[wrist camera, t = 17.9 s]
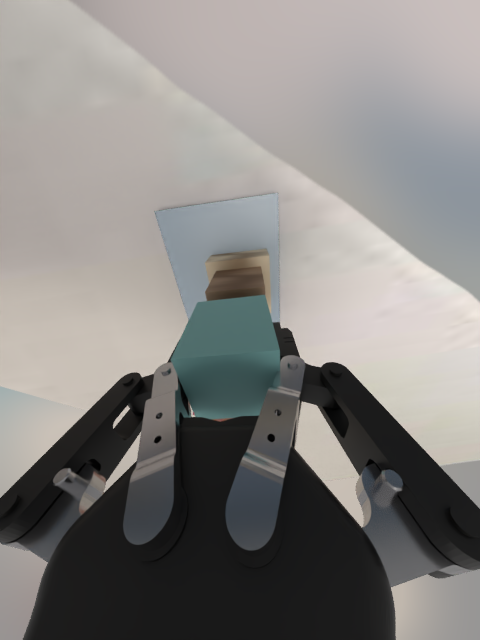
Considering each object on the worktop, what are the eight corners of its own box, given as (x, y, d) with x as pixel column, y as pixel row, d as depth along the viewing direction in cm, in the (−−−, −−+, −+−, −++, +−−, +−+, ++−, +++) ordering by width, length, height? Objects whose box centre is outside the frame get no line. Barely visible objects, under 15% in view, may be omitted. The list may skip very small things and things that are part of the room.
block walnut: (223, 310, 23) (215, 339, 18) (216, 271, 20) (204, 292, 15) (263, 306, 22) (267, 336, 17) (261, 266, 20) (265, 286, 15)
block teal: (211, 352, 16) (197, 420, 11) (197, 302, 14) (170, 359, 8) (268, 347, 16) (280, 414, 11) (265, 294, 13) (279, 350, 8)
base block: (220, 304, 27) (216, 317, 24) (210, 255, 23) (204, 262, 20) (268, 299, 26) (271, 312, 23) (266, 248, 22) (269, 255, 19)
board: (195, 332, 31) (194, 336, 30) (158, 211, 22) (154, 211, 21) (278, 326, 30) (279, 330, 29) (276, 193, 20) (278, 192, 19)
